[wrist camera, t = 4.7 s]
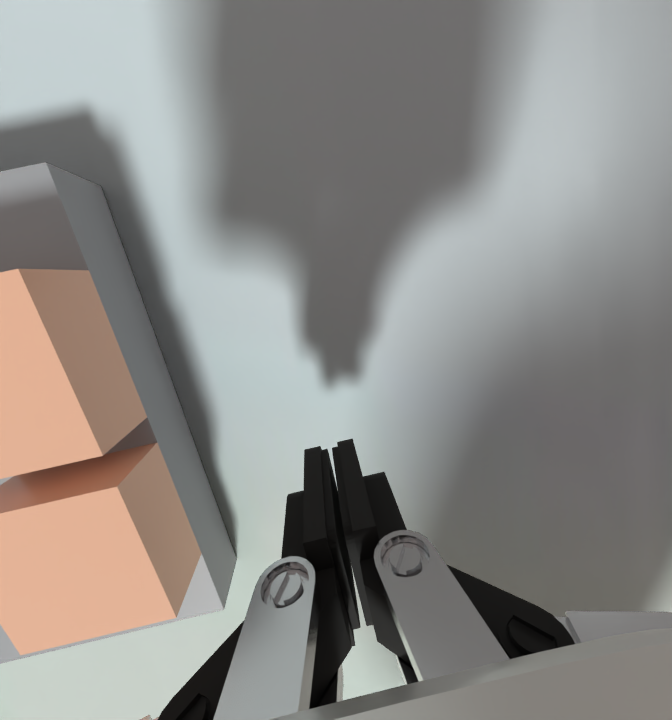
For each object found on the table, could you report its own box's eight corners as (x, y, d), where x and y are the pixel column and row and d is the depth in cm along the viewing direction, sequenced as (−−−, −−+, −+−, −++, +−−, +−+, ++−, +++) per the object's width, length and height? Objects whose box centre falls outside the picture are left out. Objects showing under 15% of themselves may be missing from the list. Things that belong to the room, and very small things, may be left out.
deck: (100, 186, 12) (45, 161, 9) (236, 559, 16) (223, 609, 14) (-184, 244, 11) (-318, 236, 9) (34, 607, 16) (-16, 667, 13)
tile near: (88, 270, 10) (17, 268, 7) (147, 416, 11) (103, 456, 9) (-77, 305, 10) (-202, 314, 7) (2, 449, 11) (-83, 497, 9)
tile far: (157, 442, 11) (117, 486, 9) (201, 553, 13) (176, 617, 10) (16, 474, 11) (-63, 528, 9) (75, 583, 13) (20, 655, 10)
